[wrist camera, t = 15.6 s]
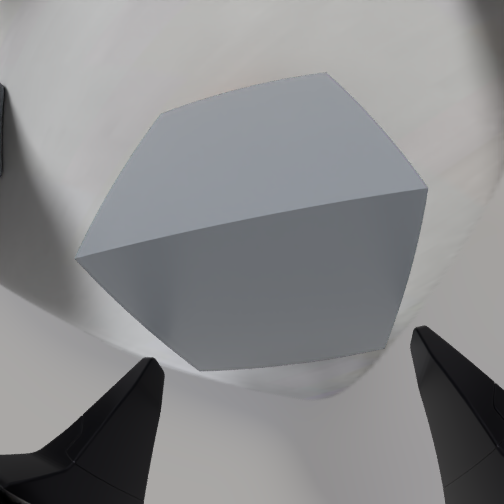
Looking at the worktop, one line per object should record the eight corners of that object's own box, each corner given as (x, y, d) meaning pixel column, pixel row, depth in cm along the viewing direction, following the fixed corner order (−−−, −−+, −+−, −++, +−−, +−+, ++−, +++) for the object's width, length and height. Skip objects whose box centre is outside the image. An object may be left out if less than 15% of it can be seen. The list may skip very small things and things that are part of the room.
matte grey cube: (326, 72, 10) (428, 187, 4) (342, 203, 16) (384, 348, 10) (160, 113, 12) (74, 258, 6) (214, 227, 17) (199, 371, 11)
